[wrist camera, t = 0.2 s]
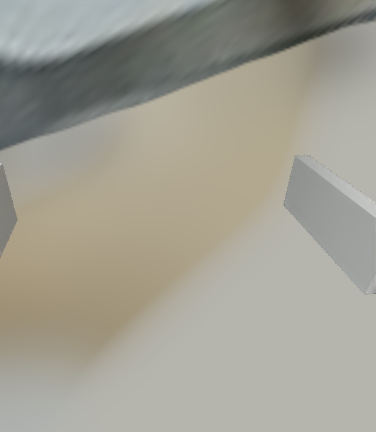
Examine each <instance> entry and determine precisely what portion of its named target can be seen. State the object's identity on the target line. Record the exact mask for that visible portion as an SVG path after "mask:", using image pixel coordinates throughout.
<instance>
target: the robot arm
mask: <svg viewBox="0 0 376 432" xmlns="http://www.w3.org/2000/svg"><path fill="white" fill-rule="evenodd" d="M284 206H285V207H286V208H287V209H288V210H289V212H290V213H291V214H292V215H293V216H294V217H295V218H296V219H297V220H298V221H299V223H300V224H301V225H302V226H303V227H304V228H305V229H306V230H307V231H308V233H309V234H310V235H311V236H312V237H313V238H314V239H315V240H316V241H317V243H318V244H319V245H320V246H321V247H322V248H323V249H324V250H325V251H326V253H327V254H328V255H329V256H330V257H331V258H332V259H333V260H334V261H335V263H336V264H337V265H338V266H339V267H340V268H341V269H342V270H343V271H344V272H345V274H346V275H347V276H348V277H349V278H350V279H351V280H352V281H353V282H354V284H355V285H356V286H357V287H358V288H359V289H360V290H361V291H362V292H363V294H364V295H368V294H376V203H375V202H374V201H372V200H371V199H370V198H368V197H367V196H365V195H364V194H363V193H361V192H360V191H358V190H357V189H356V188H354V187H353V186H351V185H350V184H349V183H347V182H346V181H344V180H343V179H342V178H340V177H339V176H337V175H336V174H334V173H333V172H332V171H330V170H329V169H327V168H326V167H325V166H323V165H322V164H320V163H319V162H318V161H316V160H315V159H313V158H312V157H311V156H295V159H294V163H293V167H292V172H291V176H290V181H289V185H288V189H287V193H286V197H285V201H284ZM16 222H17V217H16V213H15V209H14V205H13V201H12V197H11V194H10V190H9V186H8V182H7V178H6V175H5V171H4V167H3V164H2V163H0V257H1V255H2V253H3V250H4V248H5V246H6V244H7V242H8V240H9V237H10V235H11V233H12V231H13V229H14V227H15V224H16Z"/></svg>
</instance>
